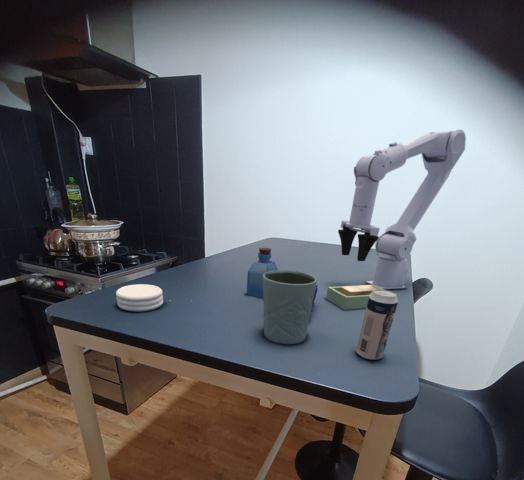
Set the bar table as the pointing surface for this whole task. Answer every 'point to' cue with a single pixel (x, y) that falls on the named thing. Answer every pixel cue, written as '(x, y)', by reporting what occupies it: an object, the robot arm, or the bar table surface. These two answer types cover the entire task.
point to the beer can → (377, 324)
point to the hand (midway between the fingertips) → (352, 257)
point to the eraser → (357, 290)
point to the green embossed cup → (287, 305)
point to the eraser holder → (347, 298)
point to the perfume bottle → (259, 273)
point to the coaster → (139, 297)
